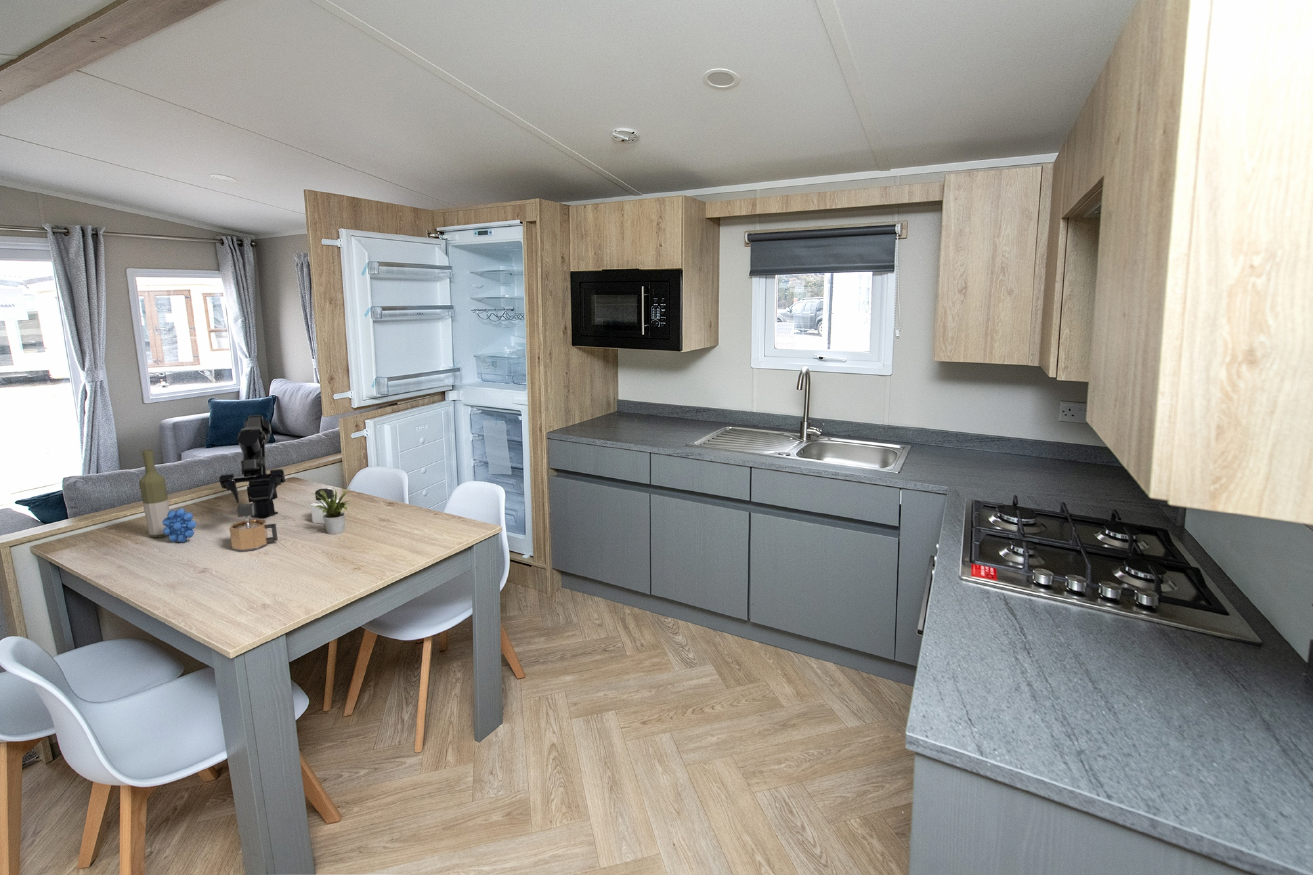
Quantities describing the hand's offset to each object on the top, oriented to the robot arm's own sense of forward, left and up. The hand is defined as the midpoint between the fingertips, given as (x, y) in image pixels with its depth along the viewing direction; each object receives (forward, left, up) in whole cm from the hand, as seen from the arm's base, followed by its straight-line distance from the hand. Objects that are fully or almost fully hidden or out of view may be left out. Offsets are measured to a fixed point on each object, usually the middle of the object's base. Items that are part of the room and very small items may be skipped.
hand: (253, 500), depth 218 cm
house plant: (+20, +11, -13) cm, 27 cm away
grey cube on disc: (+4, -7, -7) cm, 11 cm away
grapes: (-21, -10, -13) cm, 27 cm away
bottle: (-34, -8, -13) cm, 37 cm away
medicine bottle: (+9, +21, -13) cm, 27 cm away
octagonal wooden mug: (+5, -6, -13) cm, 15 cm away
